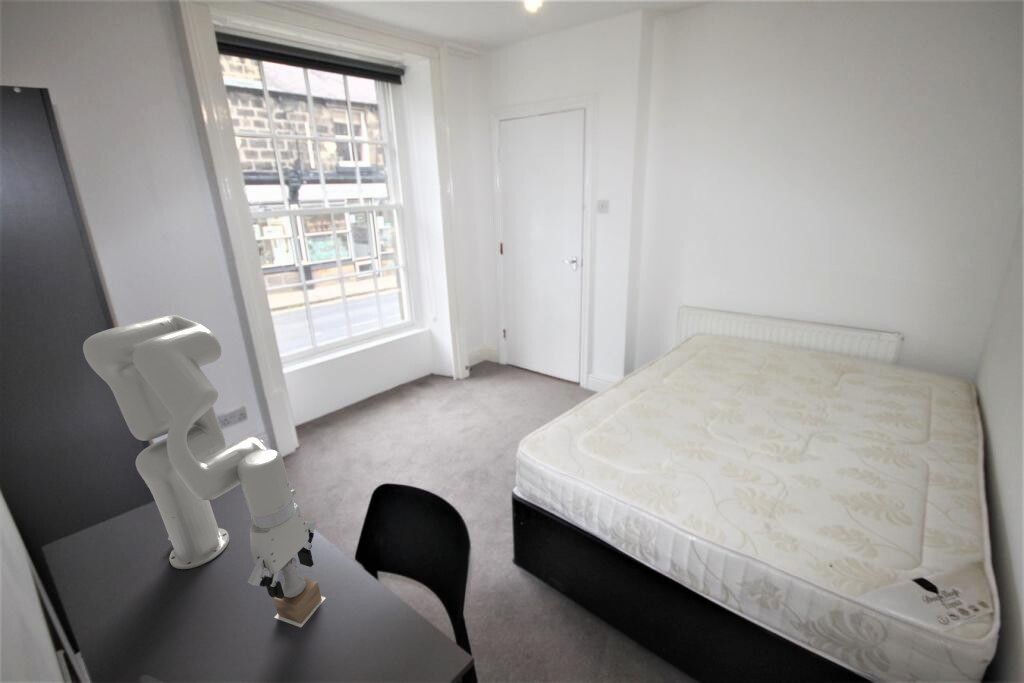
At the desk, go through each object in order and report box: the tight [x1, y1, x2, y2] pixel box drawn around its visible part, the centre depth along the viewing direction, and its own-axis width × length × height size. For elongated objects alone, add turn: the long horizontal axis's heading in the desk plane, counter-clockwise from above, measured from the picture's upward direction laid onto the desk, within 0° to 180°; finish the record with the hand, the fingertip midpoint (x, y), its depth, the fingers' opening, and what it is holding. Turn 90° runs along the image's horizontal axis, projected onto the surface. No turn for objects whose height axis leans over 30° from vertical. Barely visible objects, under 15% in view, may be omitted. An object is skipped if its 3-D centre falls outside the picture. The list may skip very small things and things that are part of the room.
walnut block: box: [272, 577, 322, 624], centre depth 95 cm, size 6×6×5 cm
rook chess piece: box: [279, 557, 306, 598], centre depth 93 cm, size 4×4×8 cm
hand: (292, 579), depth 93 cm, fingers open, 7 cm apart
